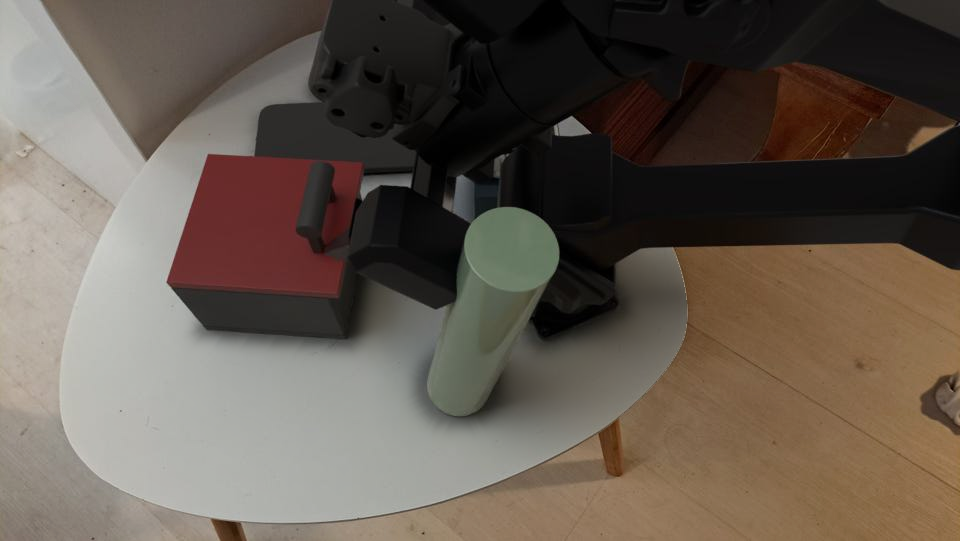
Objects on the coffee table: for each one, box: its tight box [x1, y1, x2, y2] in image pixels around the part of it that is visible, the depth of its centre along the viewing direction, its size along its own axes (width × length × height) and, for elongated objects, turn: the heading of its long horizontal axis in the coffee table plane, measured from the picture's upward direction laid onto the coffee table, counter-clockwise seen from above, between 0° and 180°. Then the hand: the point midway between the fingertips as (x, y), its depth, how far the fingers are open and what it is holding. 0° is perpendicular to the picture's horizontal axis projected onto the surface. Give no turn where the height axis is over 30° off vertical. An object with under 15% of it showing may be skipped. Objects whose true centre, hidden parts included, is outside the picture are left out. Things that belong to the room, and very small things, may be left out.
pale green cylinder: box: [426, 207, 559, 417], centre depth 42 cm, size 4×4×20 cm
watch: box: [473, 123, 561, 220], centre depth 54 cm, size 6×8×11 cm
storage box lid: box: [166, 153, 365, 298], centre depth 47 cm, size 11×10×4 cm
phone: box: [253, 101, 416, 174], centre depth 61 cm, size 7×1×15 cm
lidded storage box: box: [170, 192, 363, 340], centre depth 52 cm, size 10×10×7 cm
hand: (343, 190), depth 45 cm, fingers open, 9 cm apart
